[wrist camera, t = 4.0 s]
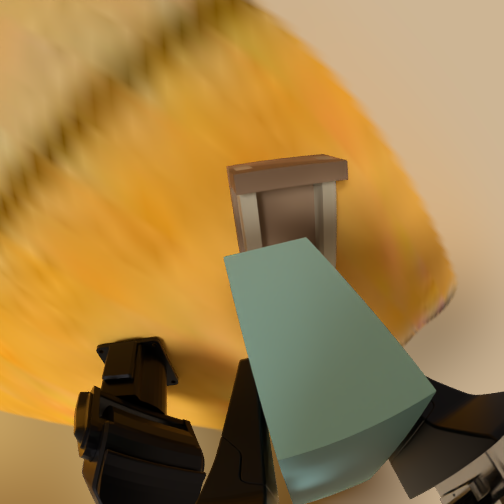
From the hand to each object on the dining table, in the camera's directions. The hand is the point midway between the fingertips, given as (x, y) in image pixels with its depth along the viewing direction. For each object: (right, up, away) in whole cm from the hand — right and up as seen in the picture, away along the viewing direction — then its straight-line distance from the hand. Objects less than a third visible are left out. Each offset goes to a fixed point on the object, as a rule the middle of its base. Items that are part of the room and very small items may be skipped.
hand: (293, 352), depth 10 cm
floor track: (+1, +5, +11) cm, 12 cm away
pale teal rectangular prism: (-1, +1, +2) cm, 2 cm away
